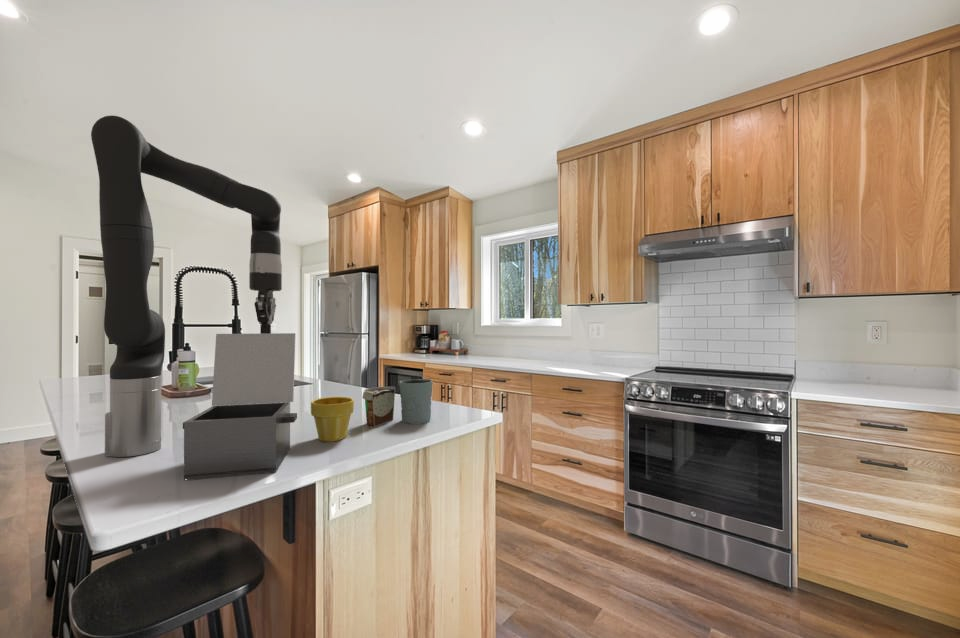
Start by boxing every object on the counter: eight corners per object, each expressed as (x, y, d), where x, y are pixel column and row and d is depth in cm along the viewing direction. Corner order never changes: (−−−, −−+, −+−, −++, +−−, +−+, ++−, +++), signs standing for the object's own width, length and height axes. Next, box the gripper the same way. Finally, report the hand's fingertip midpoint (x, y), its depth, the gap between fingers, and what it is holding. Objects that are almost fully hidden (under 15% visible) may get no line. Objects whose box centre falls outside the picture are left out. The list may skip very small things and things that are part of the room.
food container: (379, 417, 132) (379, 385, 132) (396, 419, 129) (396, 386, 129) (353, 426, 120) (353, 391, 120) (371, 428, 118) (371, 393, 118)
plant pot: (345, 444, 103) (345, 404, 103) (303, 443, 103) (303, 404, 103) (358, 432, 114) (358, 396, 114) (320, 432, 114) (320, 396, 114)
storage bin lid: (216, 333, 98) (219, 335, 101) (211, 405, 96) (215, 405, 98) (294, 333, 103) (296, 334, 105) (292, 401, 100) (294, 401, 102)
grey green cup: (405, 425, 121) (405, 384, 121) (394, 418, 130) (394, 379, 130) (438, 421, 126) (438, 381, 126) (425, 415, 135) (425, 377, 135)
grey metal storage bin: (169, 481, 79) (169, 422, 79) (201, 455, 95) (201, 406, 95) (289, 471, 85) (289, 416, 85) (300, 447, 100) (301, 401, 100)
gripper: (256, 274, 115) (256, 337, 115) (242, 268, 103) (242, 340, 103) (286, 275, 117) (286, 337, 117) (276, 269, 105) (276, 339, 105)
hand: (265, 338), depth 110 cm, fingers closed
